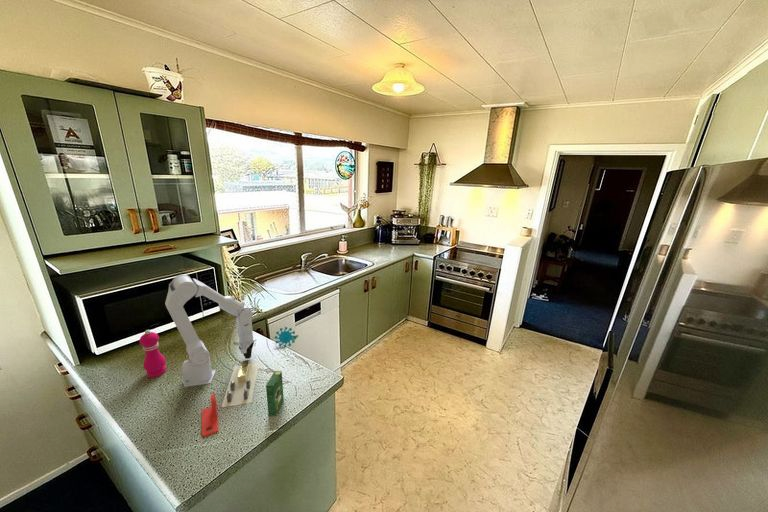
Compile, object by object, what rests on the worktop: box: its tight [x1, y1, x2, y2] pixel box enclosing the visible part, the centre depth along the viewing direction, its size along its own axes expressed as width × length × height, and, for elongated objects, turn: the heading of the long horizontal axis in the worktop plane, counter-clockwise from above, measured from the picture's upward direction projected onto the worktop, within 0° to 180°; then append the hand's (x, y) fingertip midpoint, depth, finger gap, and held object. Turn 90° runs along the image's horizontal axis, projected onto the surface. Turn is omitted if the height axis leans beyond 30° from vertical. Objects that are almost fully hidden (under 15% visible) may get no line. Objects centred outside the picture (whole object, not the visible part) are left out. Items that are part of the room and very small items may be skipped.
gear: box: [274, 326, 299, 349], centre depth 143 cm, size 11×6×10 cm
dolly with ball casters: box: [227, 378, 251, 402], centre depth 110 cm, size 7×8×3 cm
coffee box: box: [265, 370, 285, 417], centre depth 104 cm, size 8×3×13 cm, turn 178°
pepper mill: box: [139, 329, 167, 378], centre depth 117 cm, size 7×7×20 cm
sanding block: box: [238, 359, 251, 383], centre depth 120 cm, size 3×10×3 cm, turn 15°
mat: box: [221, 362, 260, 408], centre depth 116 cm, size 10×23×1 cm, turn 15°
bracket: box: [201, 393, 219, 437], centre depth 97 cm, size 12×4×8 cm, turn 31°
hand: (248, 357), depth 129 cm, fingers closed
